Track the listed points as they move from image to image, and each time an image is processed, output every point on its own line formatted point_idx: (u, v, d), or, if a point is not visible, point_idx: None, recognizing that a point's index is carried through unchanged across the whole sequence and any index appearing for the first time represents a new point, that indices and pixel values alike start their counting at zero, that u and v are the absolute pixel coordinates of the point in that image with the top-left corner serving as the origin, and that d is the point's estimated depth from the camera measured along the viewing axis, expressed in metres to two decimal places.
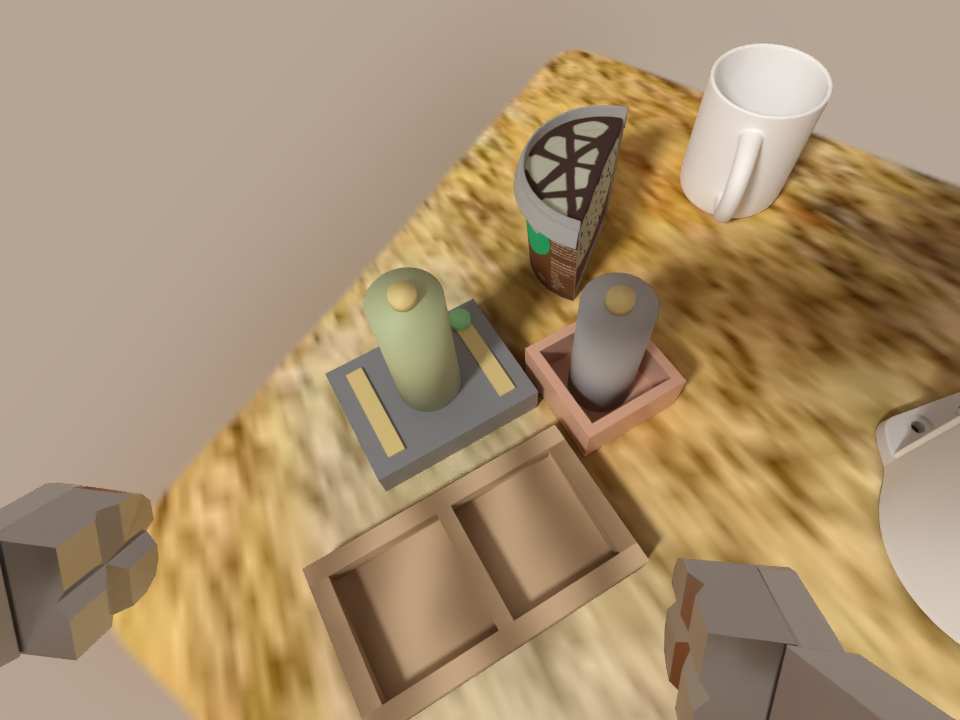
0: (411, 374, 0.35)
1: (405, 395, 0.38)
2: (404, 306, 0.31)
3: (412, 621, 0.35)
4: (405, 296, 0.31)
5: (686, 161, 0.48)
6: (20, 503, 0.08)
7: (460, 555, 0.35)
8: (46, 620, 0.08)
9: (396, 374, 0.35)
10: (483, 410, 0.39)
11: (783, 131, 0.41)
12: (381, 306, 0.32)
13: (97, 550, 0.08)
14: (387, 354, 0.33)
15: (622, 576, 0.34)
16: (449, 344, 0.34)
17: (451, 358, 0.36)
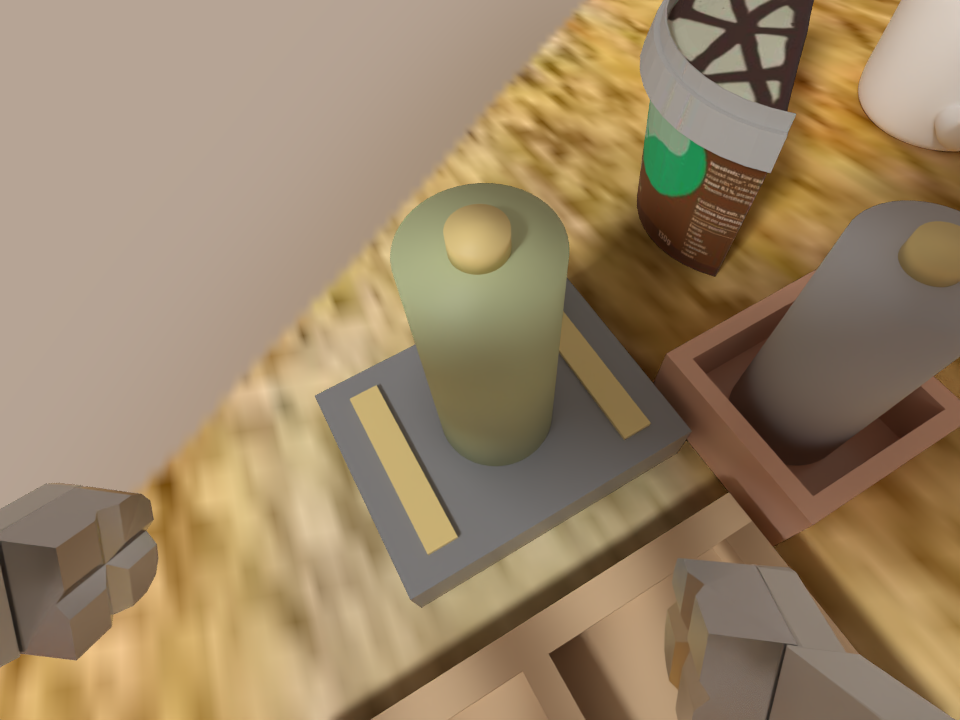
0: (480, 406, 0.17)
1: (459, 439, 0.21)
2: (484, 258, 0.13)
3: None
4: (486, 237, 0.14)
5: (882, 61, 0.31)
6: (21, 503, 0.08)
7: None
8: (45, 620, 0.08)
9: (448, 404, 0.18)
10: (596, 465, 0.22)
11: None
12: (429, 262, 0.14)
13: (97, 550, 0.08)
14: (436, 366, 0.16)
15: None
16: (558, 346, 0.17)
17: (554, 373, 0.18)
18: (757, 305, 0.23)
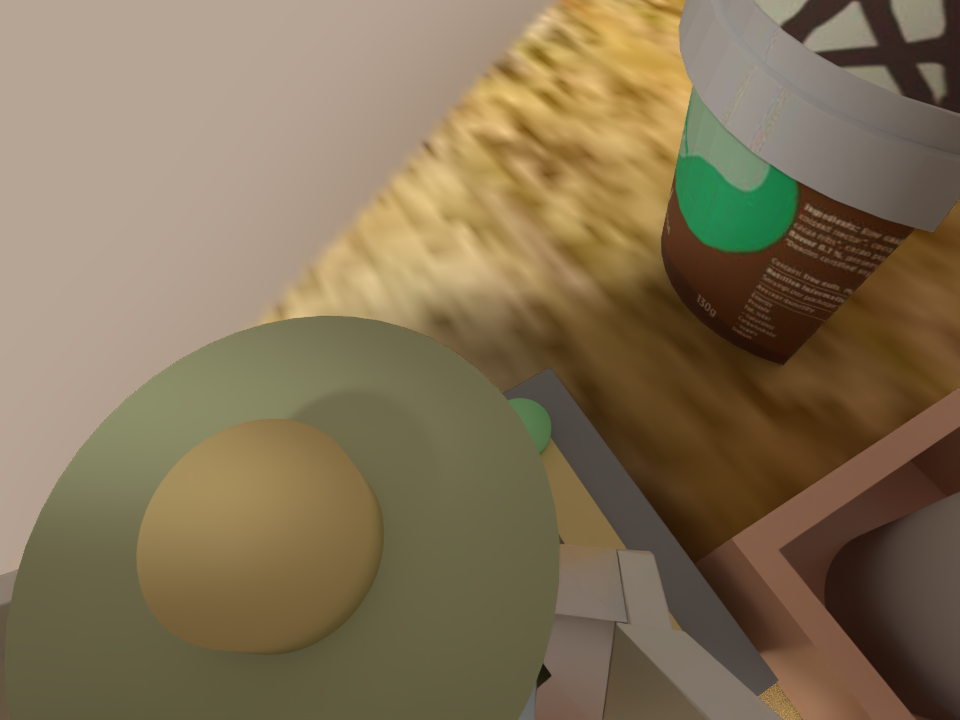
0: None
1: None
2: (260, 649, 0.04)
3: None
4: (277, 561, 0.04)
5: None
6: None
7: None
8: None
9: None
10: None
11: None
12: (129, 594, 0.05)
13: None
14: None
15: None
16: None
17: None
18: (881, 445, 0.14)
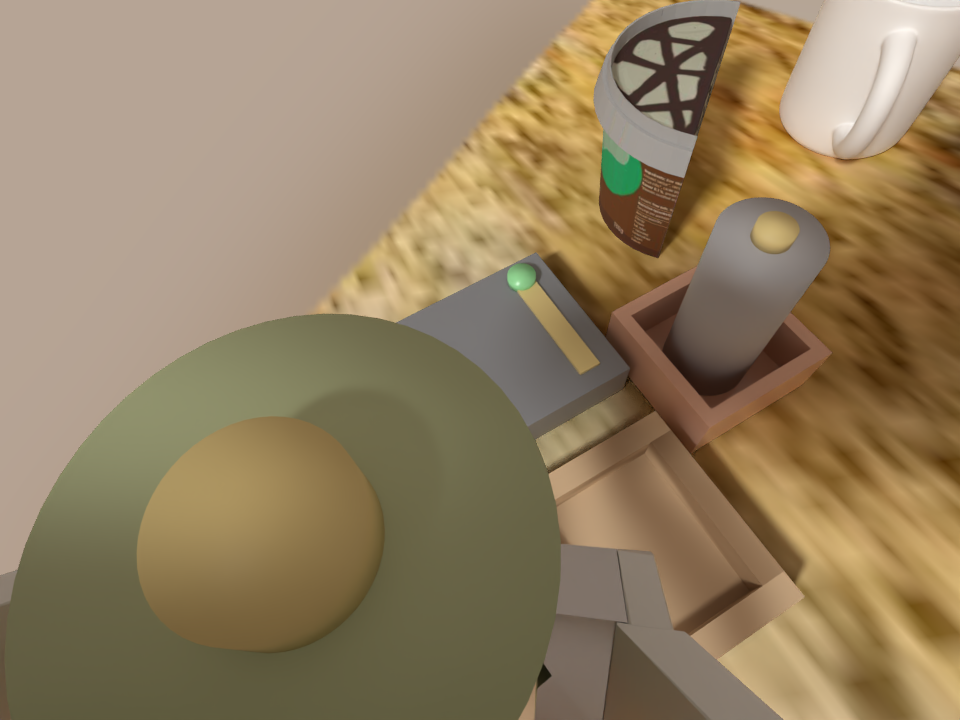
0: None
1: None
2: (261, 645, 0.04)
3: None
4: (277, 557, 0.04)
5: (793, 87, 0.39)
6: None
7: None
8: None
9: None
10: (559, 393, 0.30)
11: (946, 30, 0.31)
12: (129, 592, 0.05)
13: None
14: None
15: (769, 619, 0.24)
16: None
17: None
18: (681, 276, 0.31)
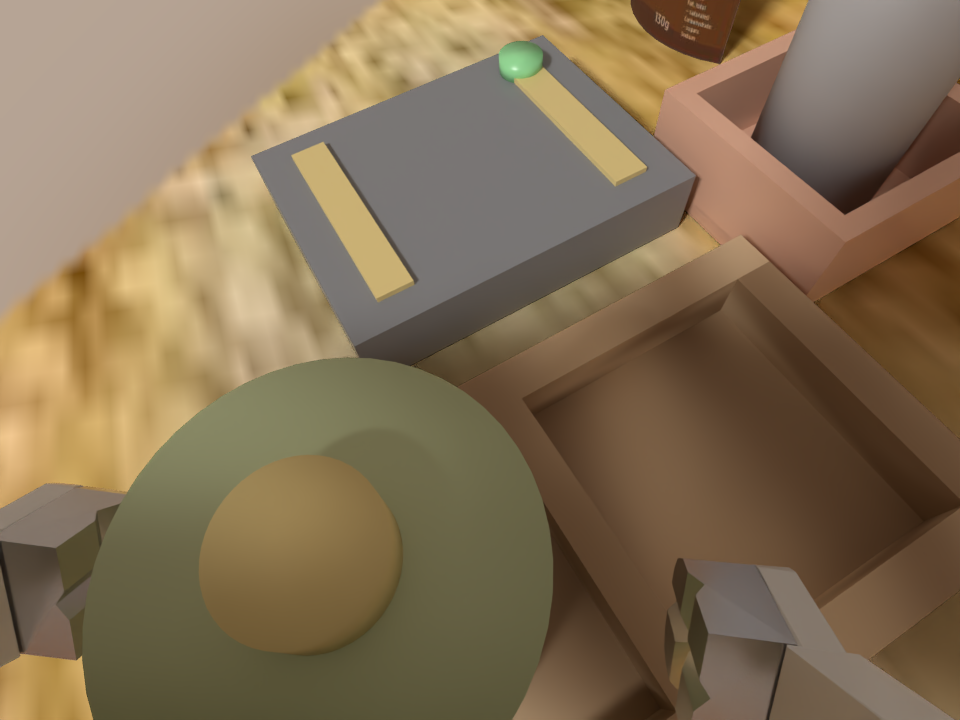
0: None
1: None
2: (304, 648, 0.05)
3: None
4: (317, 576, 0.05)
5: None
6: (20, 503, 0.08)
7: (554, 511, 0.14)
8: (46, 620, 0.08)
9: None
10: (582, 211, 0.18)
11: None
12: (186, 603, 0.05)
13: (97, 550, 0.08)
14: None
15: None
16: None
17: None
18: (772, 43, 0.20)
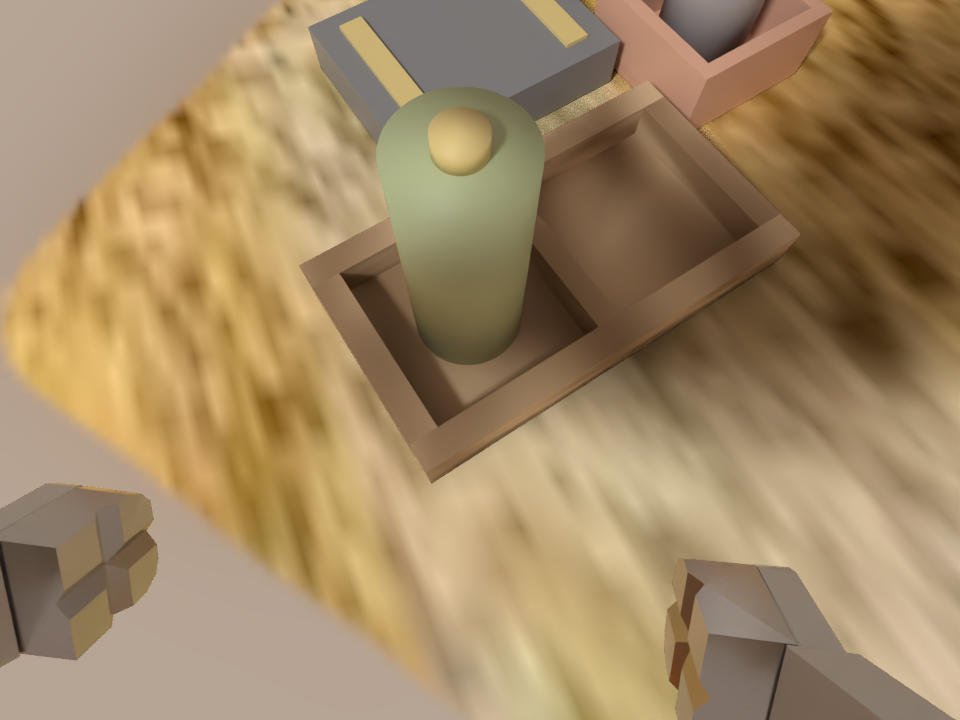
0: (460, 305, 0.19)
1: (436, 340, 0.22)
2: (468, 159, 0.14)
3: None
4: (469, 139, 0.14)
5: None
6: (20, 503, 0.08)
7: None
8: (45, 621, 0.08)
9: (429, 305, 0.19)
10: (545, 65, 0.27)
11: None
12: (414, 164, 0.15)
13: (97, 550, 0.08)
14: (420, 267, 0.17)
15: (766, 254, 0.24)
16: (531, 247, 0.18)
17: (526, 274, 0.20)
18: None
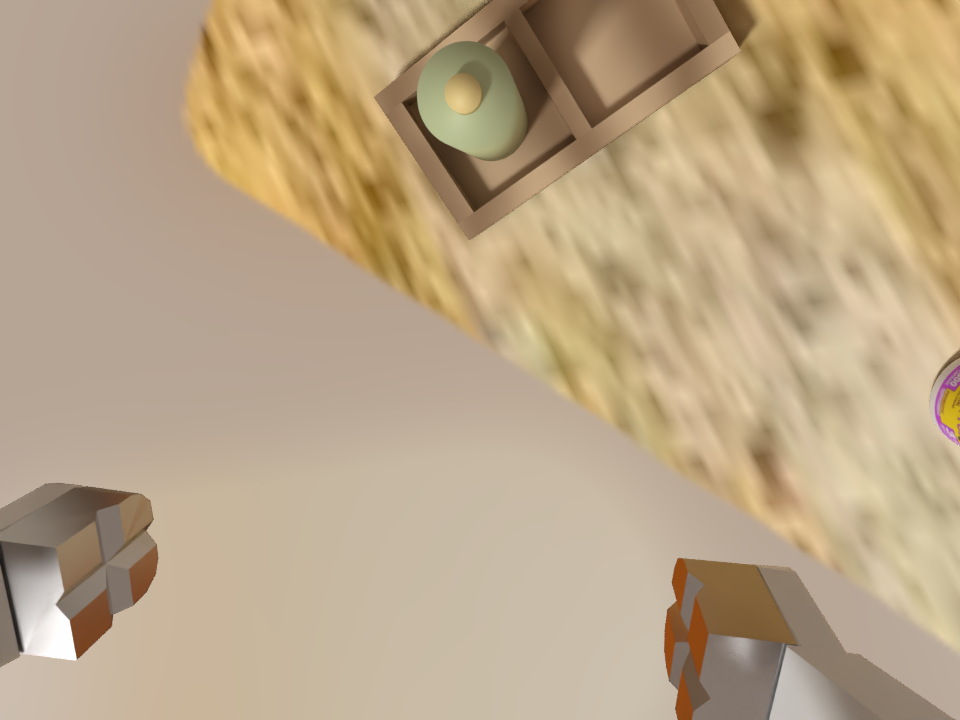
0: (478, 155, 0.31)
1: None
2: (468, 112, 0.26)
3: None
4: (468, 98, 0.25)
5: None
6: (21, 503, 0.08)
7: (534, 66, 0.33)
8: (46, 620, 0.08)
9: None
10: None
11: None
12: (439, 107, 0.26)
13: (97, 550, 0.08)
14: None
15: (708, 72, 0.32)
16: (519, 117, 0.29)
17: (520, 123, 0.31)
18: None
